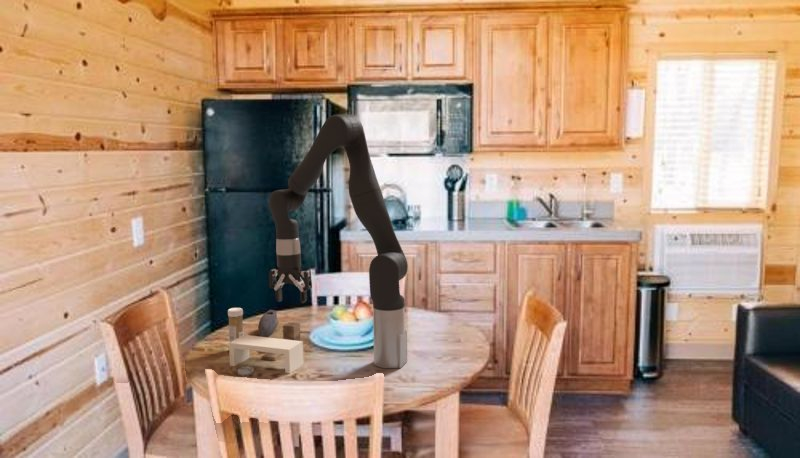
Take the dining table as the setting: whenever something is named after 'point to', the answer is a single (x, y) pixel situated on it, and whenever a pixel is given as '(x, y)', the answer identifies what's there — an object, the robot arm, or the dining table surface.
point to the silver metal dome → (245, 371)
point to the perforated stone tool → (268, 323)
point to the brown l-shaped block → (290, 333)
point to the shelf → (267, 350)
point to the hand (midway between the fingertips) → (291, 302)
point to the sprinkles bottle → (235, 323)
